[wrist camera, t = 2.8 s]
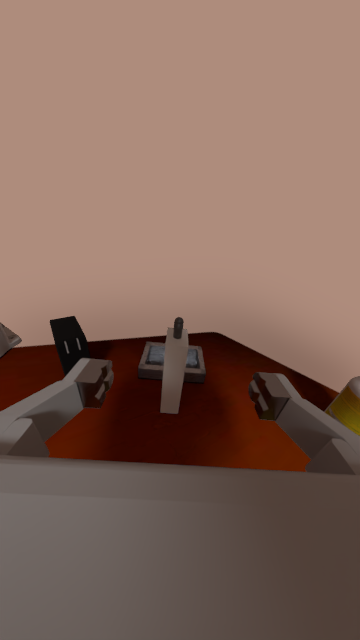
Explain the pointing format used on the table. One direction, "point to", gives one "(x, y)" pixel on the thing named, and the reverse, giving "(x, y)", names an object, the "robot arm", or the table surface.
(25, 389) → the table surface
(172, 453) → the table surface
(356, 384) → the supplement bottle
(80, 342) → the electronic device
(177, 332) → the plug
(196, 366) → the socket box
